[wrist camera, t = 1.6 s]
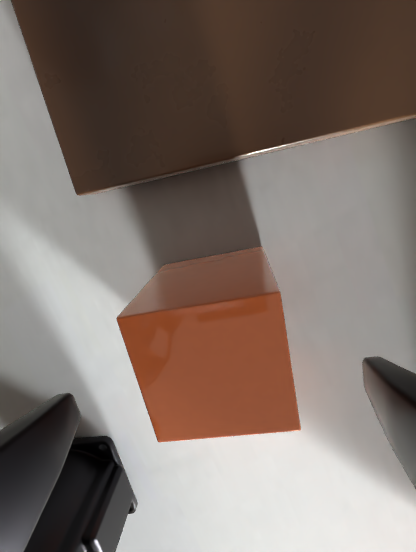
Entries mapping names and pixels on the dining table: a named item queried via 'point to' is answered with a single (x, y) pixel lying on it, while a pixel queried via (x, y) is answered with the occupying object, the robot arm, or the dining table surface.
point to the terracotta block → (212, 348)
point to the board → (213, 79)
